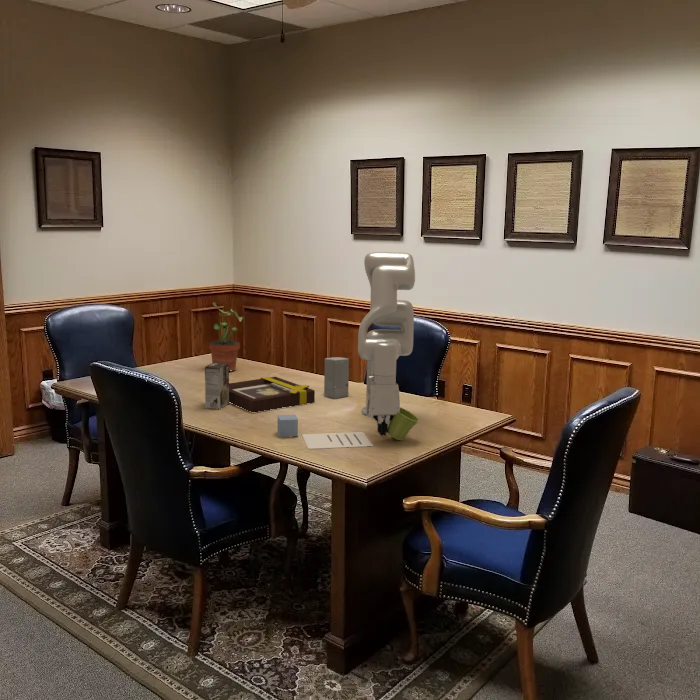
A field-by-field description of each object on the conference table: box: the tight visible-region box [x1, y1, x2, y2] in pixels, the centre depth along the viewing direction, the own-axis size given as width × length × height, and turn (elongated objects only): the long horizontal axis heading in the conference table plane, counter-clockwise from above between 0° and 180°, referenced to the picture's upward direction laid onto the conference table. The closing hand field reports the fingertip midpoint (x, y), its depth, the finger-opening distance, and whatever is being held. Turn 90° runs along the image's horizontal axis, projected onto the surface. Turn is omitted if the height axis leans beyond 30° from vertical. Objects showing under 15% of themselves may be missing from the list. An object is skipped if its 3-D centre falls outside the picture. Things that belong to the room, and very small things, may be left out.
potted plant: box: [208, 301, 244, 371], centre depth 332 cm, size 16×15×35 cm
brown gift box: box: [229, 376, 316, 413], centre depth 283 cm, size 28×7×30 cm
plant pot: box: [386, 406, 420, 441], centre depth 236 cm, size 9×9×9 cm
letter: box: [301, 431, 374, 450], centre depth 235 cm, size 15×21×1 cm
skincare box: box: [323, 356, 350, 400], centre depth 292 cm, size 8×7×16 cm
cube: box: [277, 414, 299, 438], centre depth 240 cm, size 6×6×6 cm
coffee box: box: [204, 362, 230, 410], centre depth 272 cm, size 9×6×16 cm
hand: (382, 434), depth 236 cm, fingers closed
